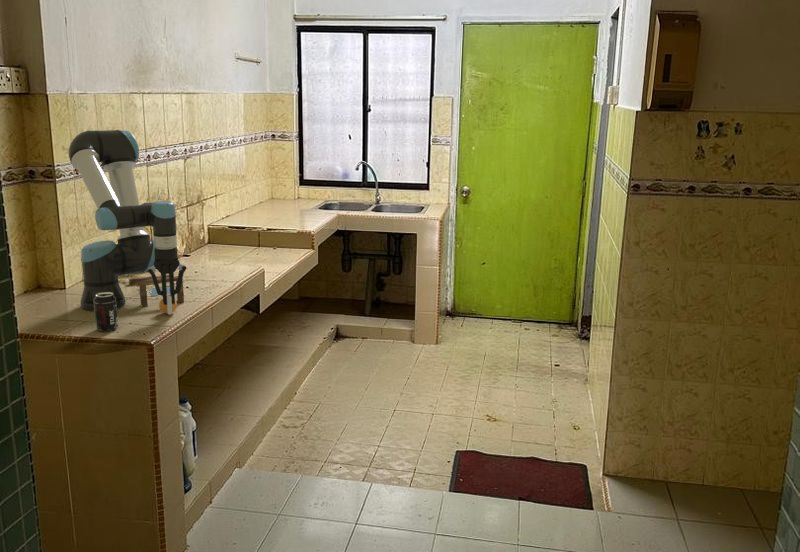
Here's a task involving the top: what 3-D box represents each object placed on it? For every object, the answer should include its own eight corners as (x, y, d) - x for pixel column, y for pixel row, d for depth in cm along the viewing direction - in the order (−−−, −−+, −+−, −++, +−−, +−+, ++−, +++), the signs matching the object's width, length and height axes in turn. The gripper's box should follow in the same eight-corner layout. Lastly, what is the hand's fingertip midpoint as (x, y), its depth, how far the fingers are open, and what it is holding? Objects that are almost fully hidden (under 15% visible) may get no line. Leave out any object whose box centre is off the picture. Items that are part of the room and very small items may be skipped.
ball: (161, 311, 244) (158, 295, 246) (159, 316, 249) (157, 300, 251) (178, 309, 247) (176, 293, 248) (177, 314, 252) (174, 299, 254)
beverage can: (92, 332, 228) (89, 296, 225) (101, 326, 235) (98, 291, 232) (113, 332, 228) (110, 297, 225) (121, 326, 235) (118, 291, 232)
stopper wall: (129, 285, 287) (129, 279, 286) (129, 284, 288) (128, 278, 288) (170, 281, 294) (170, 275, 293) (169, 280, 295) (169, 274, 295)
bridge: (184, 302, 263) (182, 277, 261) (141, 307, 257) (139, 281, 255) (182, 300, 266) (181, 275, 264) (140, 304, 260) (138, 279, 257)
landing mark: (141, 297, 269) (141, 297, 269) (137, 290, 280) (137, 289, 280) (173, 294, 275) (173, 293, 274) (169, 287, 285) (168, 286, 285)
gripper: (146, 250, 233) (151, 318, 239) (187, 248, 239) (190, 314, 245) (144, 246, 240) (148, 312, 246) (183, 243, 245) (187, 308, 251)
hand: (169, 313), depth 245 cm, fingers closed
